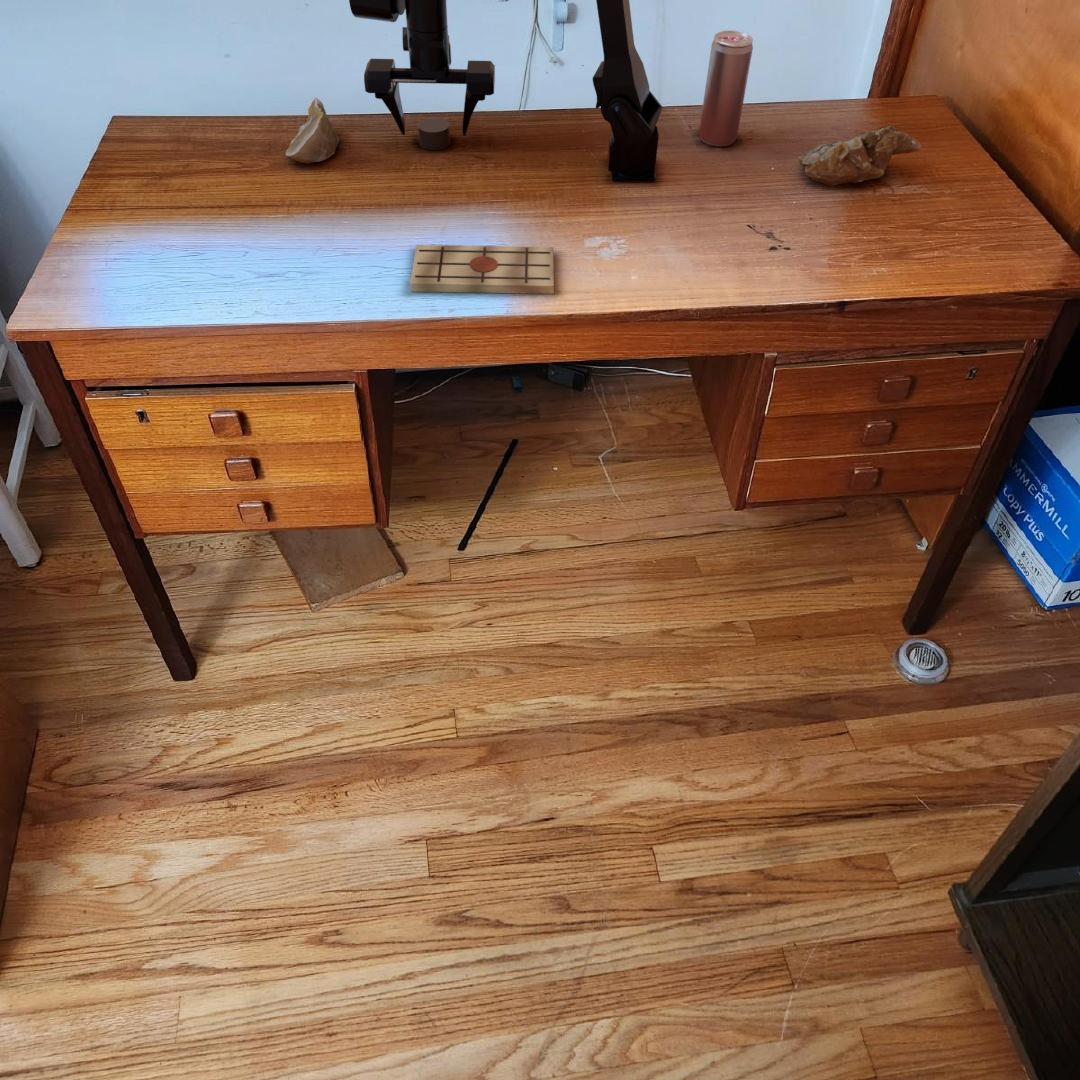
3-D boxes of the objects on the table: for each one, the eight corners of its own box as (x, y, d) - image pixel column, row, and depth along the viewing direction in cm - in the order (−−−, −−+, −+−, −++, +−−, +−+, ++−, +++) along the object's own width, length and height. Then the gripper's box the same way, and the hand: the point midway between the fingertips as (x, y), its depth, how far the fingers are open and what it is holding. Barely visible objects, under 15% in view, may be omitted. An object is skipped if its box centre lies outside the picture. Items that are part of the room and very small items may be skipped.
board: (553, 255, 127) (553, 246, 126) (553, 293, 121) (553, 284, 120) (417, 252, 127) (416, 243, 126) (410, 291, 121) (410, 282, 120)
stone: (286, 127, 136) (300, 76, 145) (282, 167, 140) (296, 115, 150) (337, 140, 137) (347, 89, 147) (331, 180, 142) (341, 128, 152)
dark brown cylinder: (451, 136, 149) (450, 118, 147) (449, 150, 146) (448, 132, 144) (420, 135, 149) (418, 117, 147) (417, 150, 146) (416, 132, 144)
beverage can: (698, 128, 152) (713, 28, 141) (736, 131, 152) (754, 31, 141) (697, 146, 148) (712, 44, 137) (736, 149, 148) (754, 47, 137)
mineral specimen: (849, 202, 151) (788, 192, 142) (844, 155, 150) (783, 143, 141) (925, 174, 140) (865, 161, 131) (920, 124, 140) (859, 108, 131)
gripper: (495, 5, 140) (496, 111, 152) (367, 2, 140) (378, 109, 152) (492, 35, 133) (494, 144, 144) (357, 32, 133) (370, 142, 144)
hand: (434, 134), depth 146 cm, fingers open, 9 cm apart
